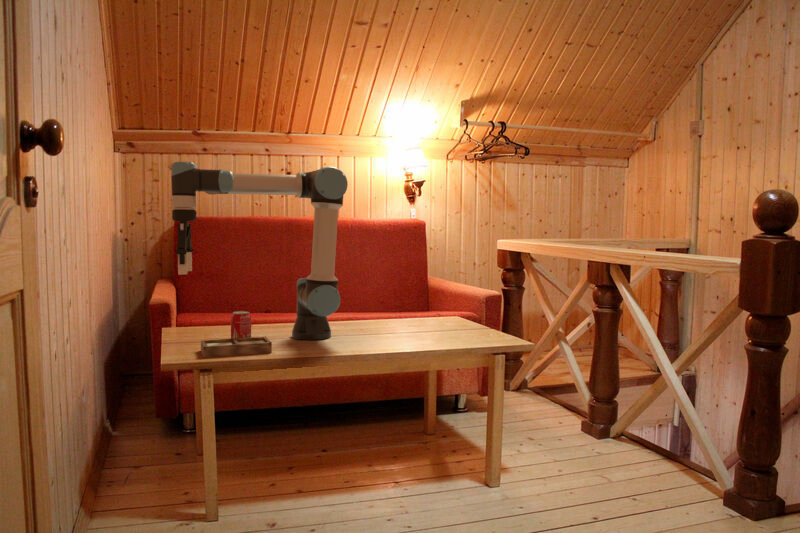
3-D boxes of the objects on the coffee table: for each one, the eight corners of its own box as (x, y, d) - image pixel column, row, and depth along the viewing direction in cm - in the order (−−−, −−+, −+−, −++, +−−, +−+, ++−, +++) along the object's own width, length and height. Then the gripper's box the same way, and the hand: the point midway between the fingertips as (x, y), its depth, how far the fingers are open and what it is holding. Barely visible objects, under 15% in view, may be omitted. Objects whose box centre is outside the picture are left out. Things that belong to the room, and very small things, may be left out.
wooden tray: (265, 346, 202) (265, 336, 202) (271, 352, 192) (271, 342, 192) (200, 350, 193) (200, 340, 193) (203, 357, 183) (203, 346, 183)
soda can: (233, 343, 206) (233, 310, 205) (252, 343, 207) (252, 310, 206) (228, 347, 199) (228, 313, 198) (249, 347, 200) (249, 313, 199)
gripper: (177, 209, 199) (178, 269, 200) (166, 207, 175) (167, 276, 176) (199, 210, 201) (200, 269, 202) (192, 208, 177) (193, 275, 178)
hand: (185, 272), depth 189 cm, fingers open, 13 cm apart
